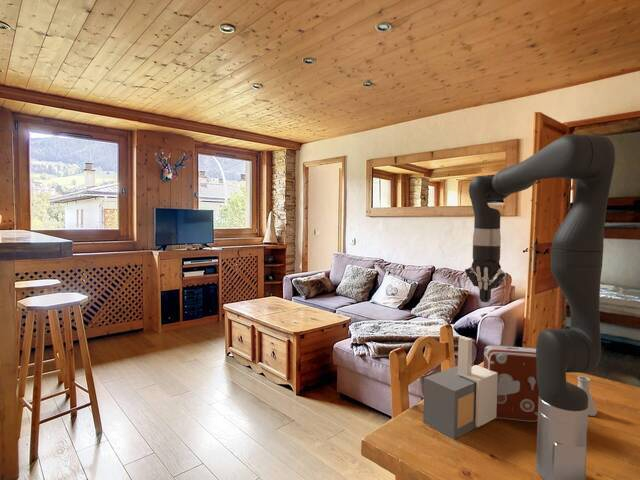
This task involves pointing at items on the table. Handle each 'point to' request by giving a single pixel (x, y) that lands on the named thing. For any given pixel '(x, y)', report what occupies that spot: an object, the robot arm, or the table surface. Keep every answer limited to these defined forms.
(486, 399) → the grooved cream block
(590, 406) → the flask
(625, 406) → the table surface
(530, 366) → the brown boxy piece
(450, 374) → the camera housing
